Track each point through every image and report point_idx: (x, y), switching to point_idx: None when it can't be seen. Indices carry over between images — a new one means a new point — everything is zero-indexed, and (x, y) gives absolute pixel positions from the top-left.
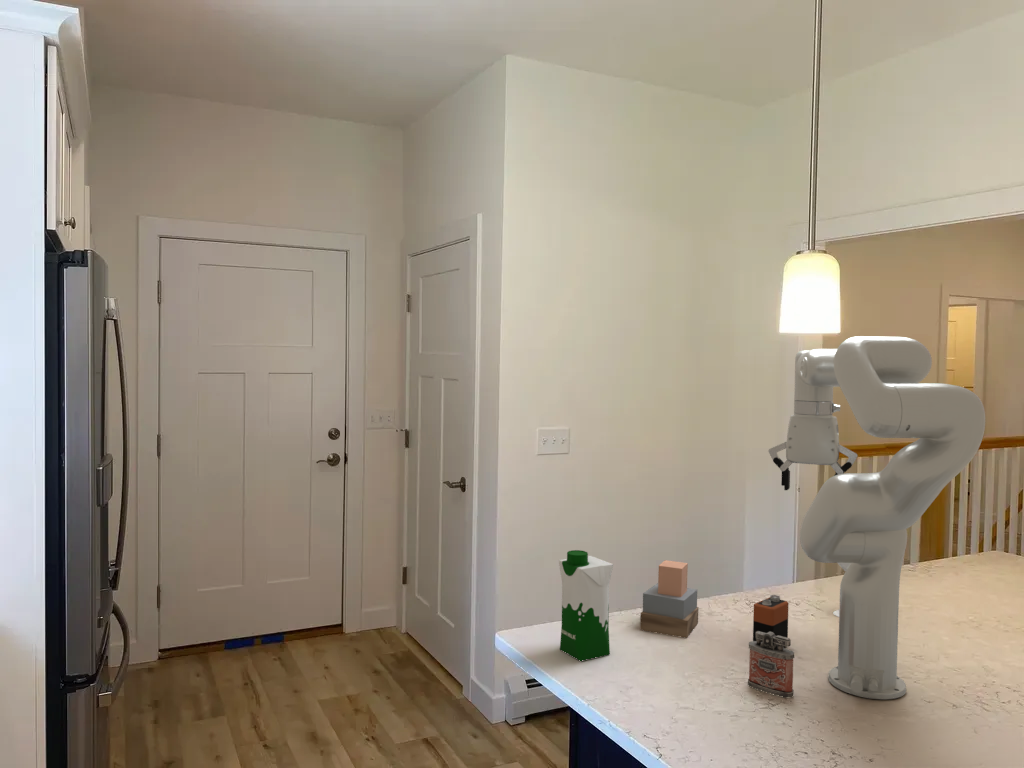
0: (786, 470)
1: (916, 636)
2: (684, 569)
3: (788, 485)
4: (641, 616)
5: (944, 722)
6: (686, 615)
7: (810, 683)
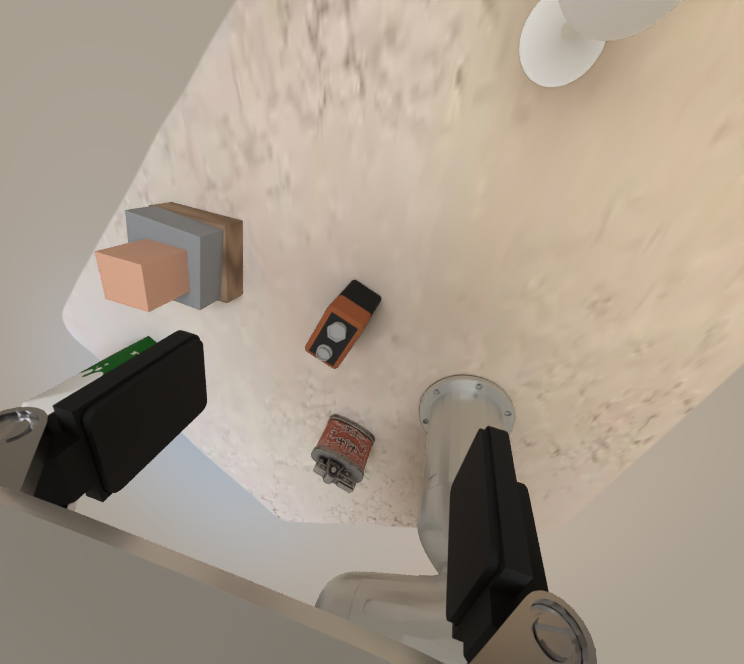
0: (82, 483)
1: (672, 180)
2: (151, 288)
3: (188, 405)
4: None
5: (521, 482)
6: (219, 285)
7: (397, 412)
